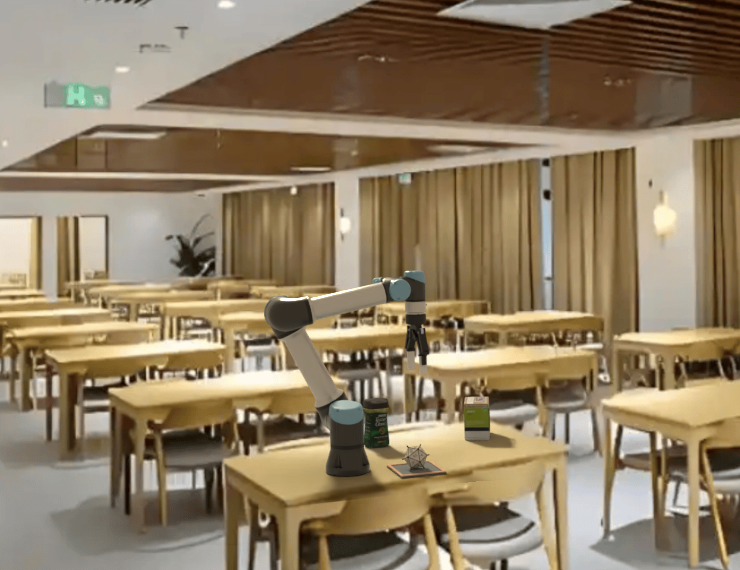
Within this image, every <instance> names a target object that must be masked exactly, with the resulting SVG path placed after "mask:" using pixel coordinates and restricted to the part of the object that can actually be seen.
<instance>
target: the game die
mask: <svg viewBox="0 0 740 570" xmlns="http://www.w3.org/2000/svg"><path fill="white" fill-rule="evenodd" d="M421 446H422V444H421V443H420V444H419V446H417V445H416V446H408V445H406V448H407V449H406V451H405V455H404V458H401V460H402V461H405V463H407V464H408V465H409V466H410V467H411V468H410V470H412V468H417V467H423V468H424V469H425V467H424V463H425V461H427V457H428V456H430V455H431V454H429V453H428V454H427V452H426V451H425V450H424V449H423V448H422V447H421Z"/></svg>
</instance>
